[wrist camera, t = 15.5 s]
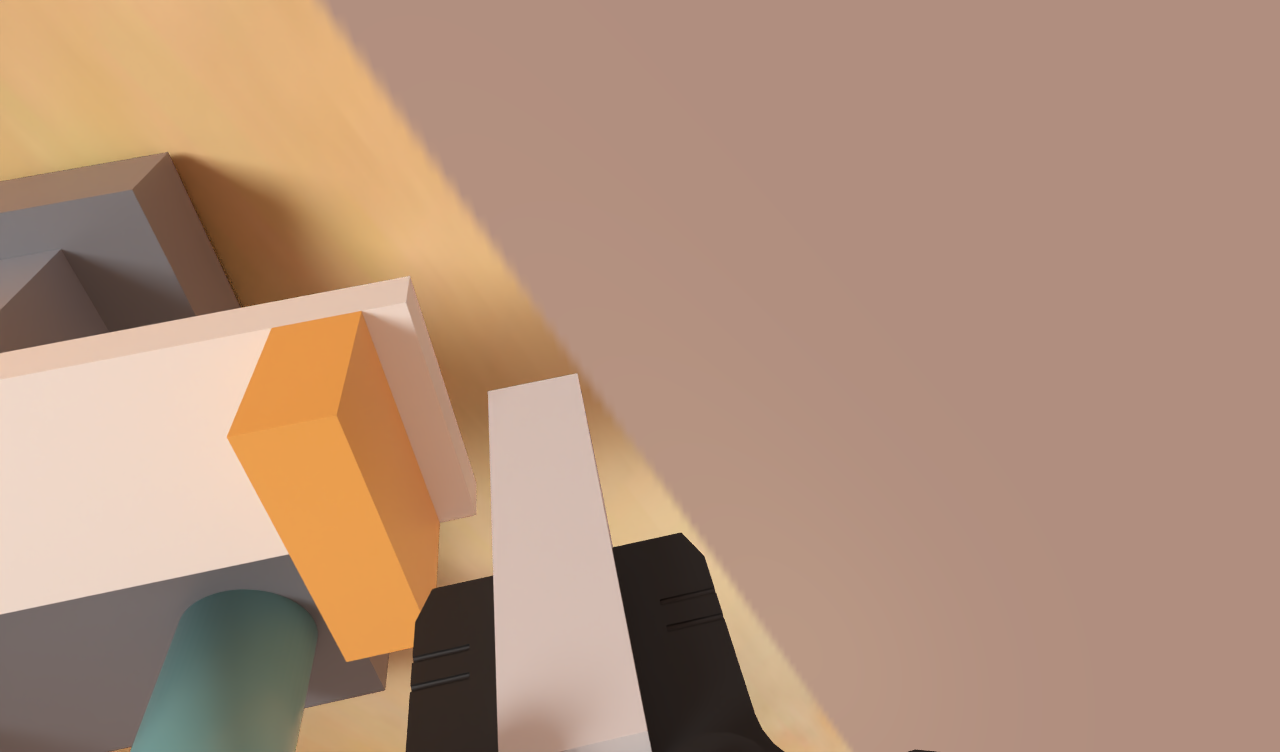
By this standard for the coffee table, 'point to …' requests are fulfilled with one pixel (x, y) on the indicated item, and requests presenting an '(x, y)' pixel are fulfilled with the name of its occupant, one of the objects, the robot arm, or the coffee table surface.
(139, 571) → the lid
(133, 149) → the coffee table surface
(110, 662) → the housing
